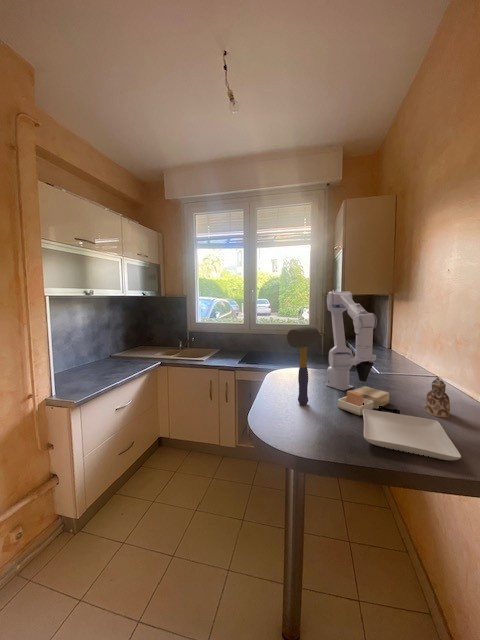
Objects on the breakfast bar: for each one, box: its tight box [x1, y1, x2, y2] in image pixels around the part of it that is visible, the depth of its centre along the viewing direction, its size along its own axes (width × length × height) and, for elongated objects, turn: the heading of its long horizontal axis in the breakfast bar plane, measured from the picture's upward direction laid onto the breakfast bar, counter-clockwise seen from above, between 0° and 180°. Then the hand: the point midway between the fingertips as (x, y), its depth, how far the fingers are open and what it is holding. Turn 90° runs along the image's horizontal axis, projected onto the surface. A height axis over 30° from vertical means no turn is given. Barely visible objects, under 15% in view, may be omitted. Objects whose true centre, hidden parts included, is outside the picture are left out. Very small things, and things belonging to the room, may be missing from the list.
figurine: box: [423, 377, 451, 418], centre depth 90 cm, size 7×7×12 cm
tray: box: [336, 395, 374, 417], centre depth 95 cm, size 9×9×3 cm
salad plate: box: [362, 409, 462, 461], centre depth 74 cm, size 21×21×3 cm
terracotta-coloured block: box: [346, 389, 363, 407], centre depth 95 cm, size 5×5×2 cm
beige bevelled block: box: [351, 385, 390, 409], centre depth 101 cm, size 10×9×4 cm
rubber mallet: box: [286, 326, 321, 406], centre depth 98 cm, size 12×8×30 cm, turn 128°
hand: (362, 380), depth 97 cm, fingers closed
